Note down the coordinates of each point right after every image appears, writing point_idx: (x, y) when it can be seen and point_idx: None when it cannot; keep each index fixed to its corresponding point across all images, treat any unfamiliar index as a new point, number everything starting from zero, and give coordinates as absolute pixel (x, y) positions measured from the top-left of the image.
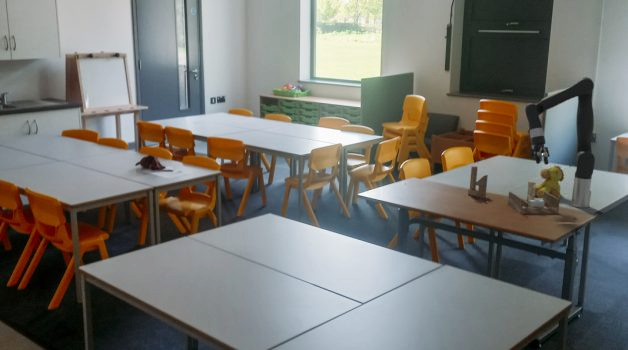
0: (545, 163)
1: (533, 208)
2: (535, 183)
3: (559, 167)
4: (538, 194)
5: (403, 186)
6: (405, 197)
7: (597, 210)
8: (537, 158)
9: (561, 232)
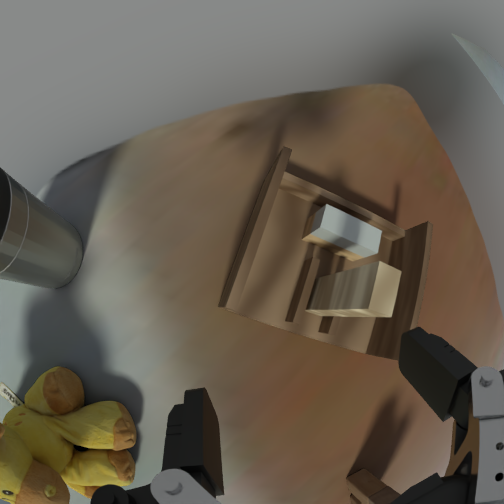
0: (213, 420)
1: (371, 212)
2: (376, 262)
3: None
4: (135, 429)
5: None
6: None
7: (54, 177)
8: (465, 360)
9: (368, 88)
